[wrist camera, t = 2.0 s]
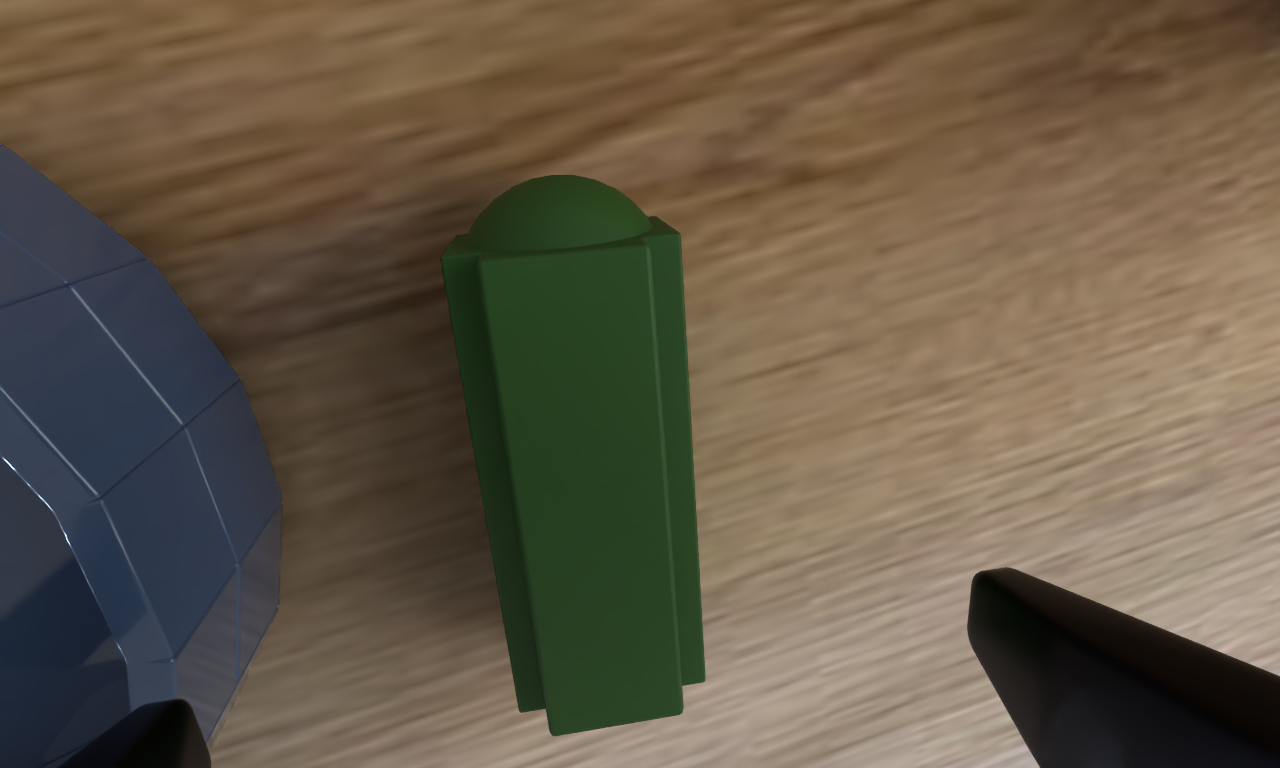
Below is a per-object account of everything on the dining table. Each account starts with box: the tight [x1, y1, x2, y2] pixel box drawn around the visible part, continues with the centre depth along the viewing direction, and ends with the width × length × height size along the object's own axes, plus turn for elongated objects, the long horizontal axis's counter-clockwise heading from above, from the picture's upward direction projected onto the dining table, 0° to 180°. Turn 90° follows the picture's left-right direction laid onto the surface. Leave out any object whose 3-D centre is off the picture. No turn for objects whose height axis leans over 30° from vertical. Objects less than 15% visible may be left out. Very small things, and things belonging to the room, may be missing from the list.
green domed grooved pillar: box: [440, 175, 705, 736], centre depth 13 cm, size 10×4×4 cm, turn 4°
